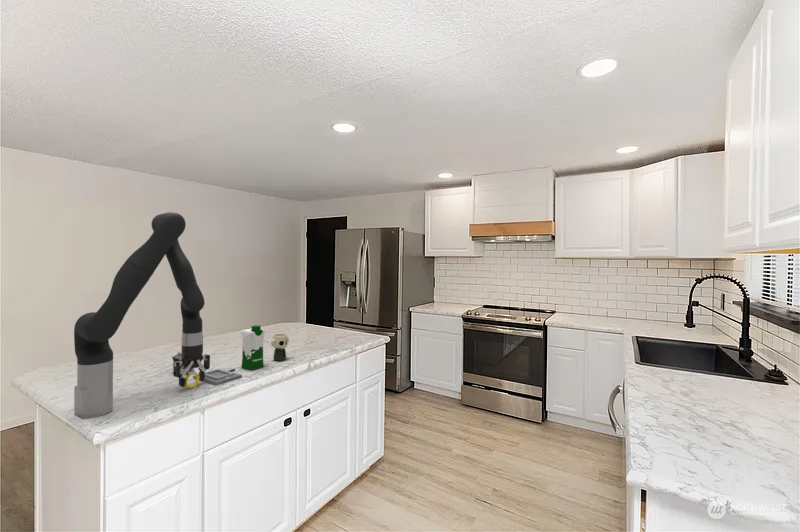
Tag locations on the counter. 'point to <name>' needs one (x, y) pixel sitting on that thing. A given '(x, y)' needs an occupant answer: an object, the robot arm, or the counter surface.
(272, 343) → the character mug
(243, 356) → the milk carton
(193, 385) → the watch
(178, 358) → the electrical switch
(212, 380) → the charging dock
